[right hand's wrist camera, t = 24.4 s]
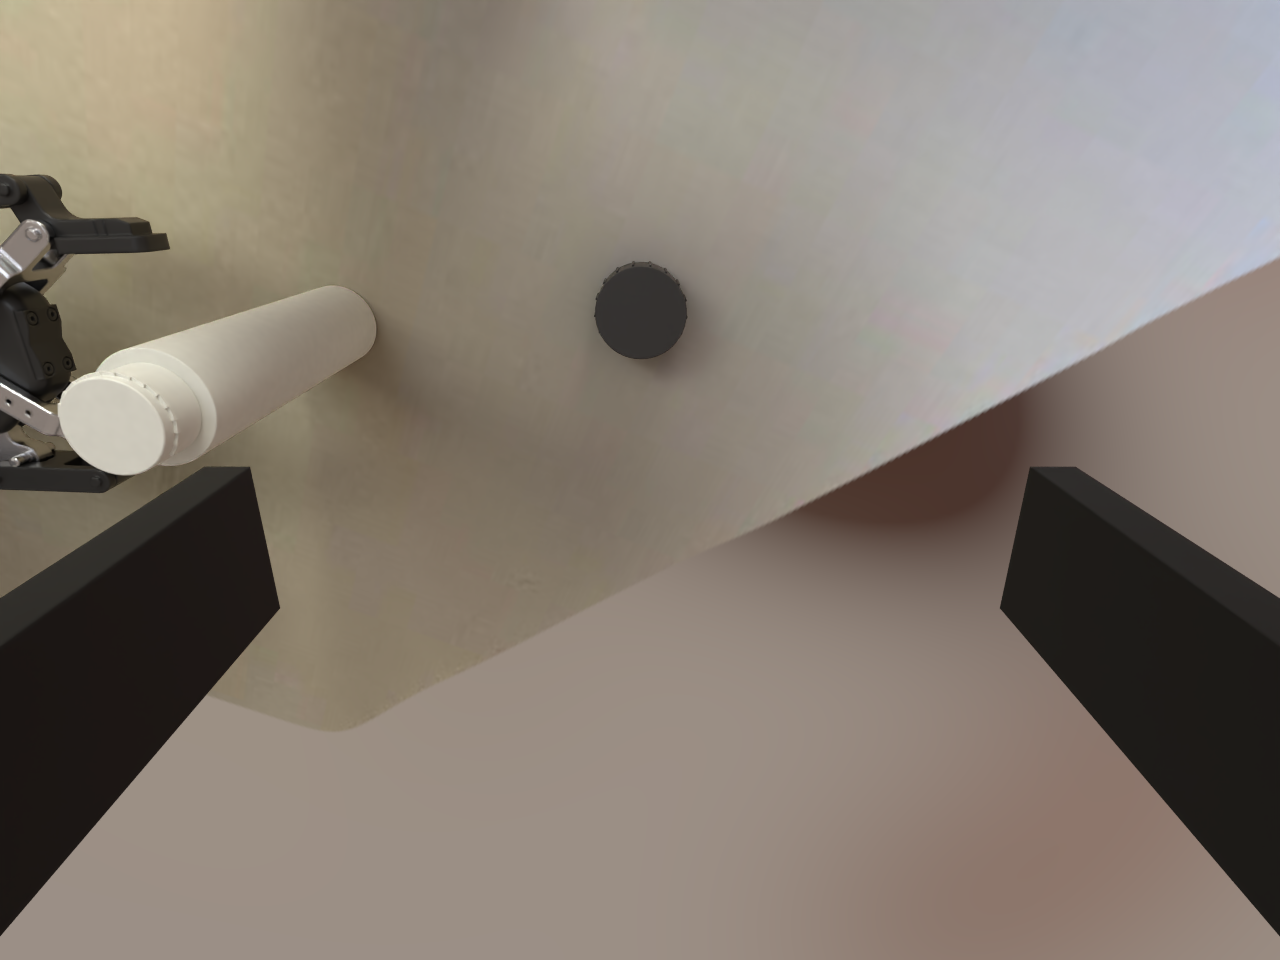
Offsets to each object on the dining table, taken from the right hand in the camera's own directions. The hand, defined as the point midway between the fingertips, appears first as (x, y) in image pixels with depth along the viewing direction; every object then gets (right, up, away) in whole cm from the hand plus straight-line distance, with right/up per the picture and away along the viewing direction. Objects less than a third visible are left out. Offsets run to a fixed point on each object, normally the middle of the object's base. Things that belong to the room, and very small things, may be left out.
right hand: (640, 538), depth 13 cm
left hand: (-21, +8, +21) cm, 31 cm away
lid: (0, +10, +25) cm, 27 cm away
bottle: (-16, +9, +27) cm, 33 cm away
